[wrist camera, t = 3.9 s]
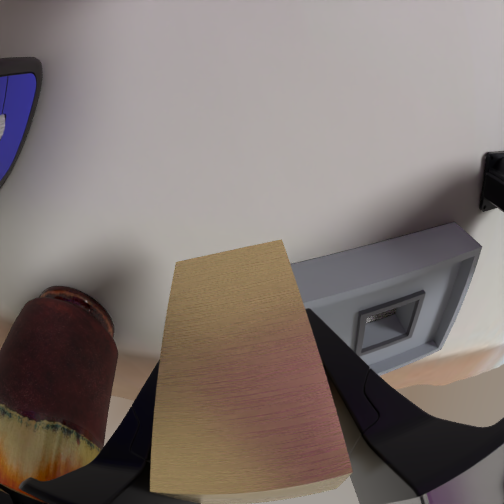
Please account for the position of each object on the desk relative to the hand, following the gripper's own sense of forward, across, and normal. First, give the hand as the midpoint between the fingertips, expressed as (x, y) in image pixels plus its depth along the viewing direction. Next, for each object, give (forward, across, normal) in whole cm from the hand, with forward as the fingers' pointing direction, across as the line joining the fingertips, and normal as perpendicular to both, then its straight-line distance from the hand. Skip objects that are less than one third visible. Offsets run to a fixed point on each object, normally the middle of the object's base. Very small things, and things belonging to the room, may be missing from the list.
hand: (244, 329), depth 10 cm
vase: (+11, +19, +8) cm, 23 cm away
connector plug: (+2, 0, 0) cm, 2 cm away
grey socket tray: (+12, -12, +15) cm, 22 cm away
